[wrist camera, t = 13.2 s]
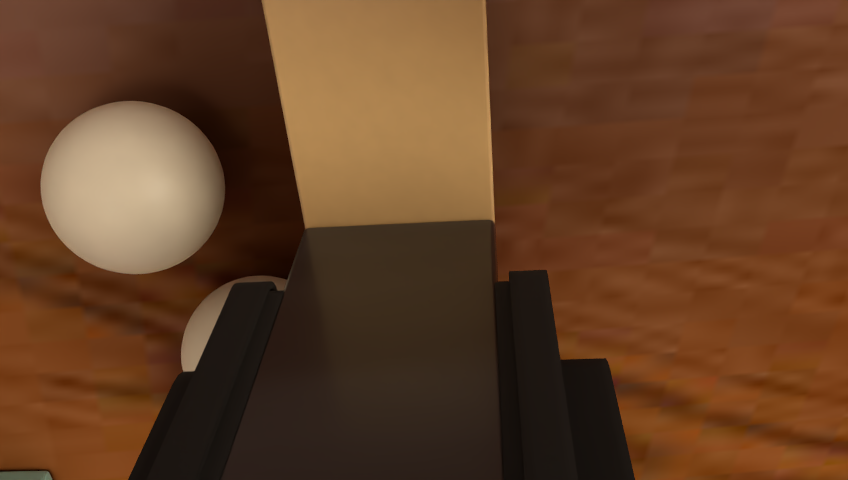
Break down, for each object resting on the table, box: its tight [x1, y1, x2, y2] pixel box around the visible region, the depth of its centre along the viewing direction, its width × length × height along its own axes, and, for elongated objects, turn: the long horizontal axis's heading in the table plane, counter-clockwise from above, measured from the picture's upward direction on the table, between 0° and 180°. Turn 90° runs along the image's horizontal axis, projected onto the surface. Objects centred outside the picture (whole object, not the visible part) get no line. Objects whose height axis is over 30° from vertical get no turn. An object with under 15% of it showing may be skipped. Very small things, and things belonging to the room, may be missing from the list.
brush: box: [220, 0, 504, 480], centre depth 11 cm, size 12×3×10 cm, turn 5°
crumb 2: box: [181, 275, 287, 372], centre depth 16 cm, size 3×3×3 cm
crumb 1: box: [41, 101, 225, 274], centre depth 14 cm, size 3×3×3 cm
